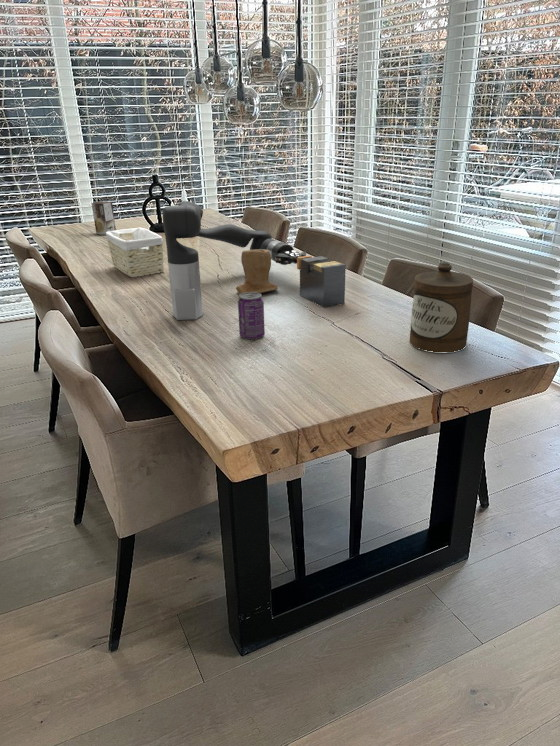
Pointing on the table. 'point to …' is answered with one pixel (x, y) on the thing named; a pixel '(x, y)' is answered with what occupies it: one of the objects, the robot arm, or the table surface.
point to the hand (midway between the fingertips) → (303, 262)
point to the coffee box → (103, 217)
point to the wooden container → (441, 310)
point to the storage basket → (136, 251)
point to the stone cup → (256, 272)
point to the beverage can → (251, 315)
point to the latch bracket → (323, 281)
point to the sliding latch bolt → (300, 262)
